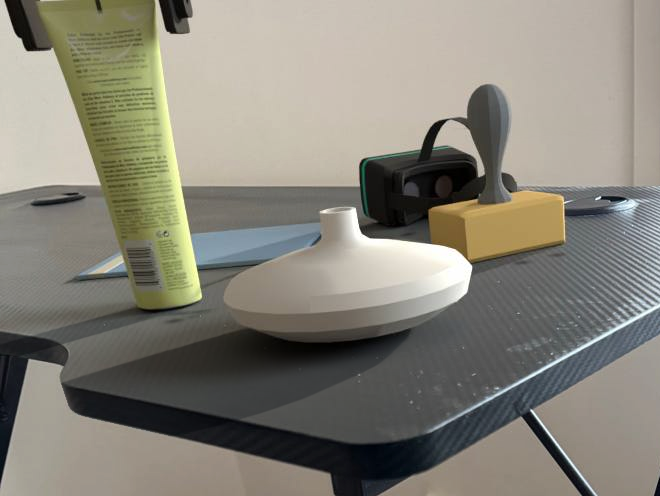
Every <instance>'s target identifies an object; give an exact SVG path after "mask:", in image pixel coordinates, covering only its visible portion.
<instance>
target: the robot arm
mask: <svg viewBox="0 0 660 496" xmlns="http://www.w3.org/2000/svg"><path fill="white" fill-rule="evenodd" d="M3 1H4V4H5V7H6V11H7V14H8V16H9V20H10V23H11V26H12V29H13V32H14V34H15V35H16V37H17V38H18V39H20V40H21V42H22V45H23V48H24V50H25V51H26V52H47V51H48V52H49V51H52V49H53V47H52V44H51V42H50V39H49V37H48V34H47V32H46V30H45V28H44V26H43V23H42V21H41V18H40V16H39V13H38V9H37V5H36V1H41V0H3ZM158 5H159V8H160V13H161V17H162V21H163V25H164V26H163V27H164V29H165V31H166V32H167V33H169V34H170V35H185V34H190V33H191V28H190V23H189V19H191V18H193V17H194V11H193V6H192V1H191V0H158Z"/></svg>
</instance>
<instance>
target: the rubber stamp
mask: <svg viewBox="0 0 660 496" xmlns="http://www.w3.org/2000/svg"><path fill="white" fill-rule="evenodd" d="M466 118H467V121H468V126H469V129H468V131H469V133H470V136H471V139H472V141H473V143H474V146H475V148H476V151H477V152H478V155H479V157H480V160H481V163H482V167H483V170H484V169H485V172H484V175H485V174H486V186H485V189H484V191H483V192H482V194H479V198H478V199H476V200H470V201H465V202H459V203H454V204H448V205H443V206H438V207H433V208H431V209H430V210H429V215H428V222H429V232H430V241H431V243H430V244H431V245H439V246H444V247H448V248H452V249H455V250H457V251H458V252H459V253H460V254H461V255H462V256H463V257H464V258H465V259H466V260H467V261H468V262H469V263H470V264H474V263H477V262H482V261H486V260H491V259H497V258H501V257H505V256H510V255H515V254H520V253H525V252H529V251H533V250H538V249H543V248H548V247H552V246H556V245H557V246H558V245H561V244H565V243H566V230H565V229H566V226H565V225H566V224H565V223H566V222H565V200H564V199H565V198H564V196H562V195H561V194H556V193H548V192H541V191H535V190H527V189H526V190H521V191H517V192H514V193H509V191H508V190H507V189H506V188H505V187H504V185H503V183H502V178H501V172H502V167H503V161H504V156H505V153H506V149H507V145H508V143H509V142H508V141H509V137H510V133H511V128H512V119H513V117H512V107H511V102H510V100H509V98H508V96H507V93H506V92H505V91H504V90H503V89H502V88H501V87H500V86H498V85H497V84H496V85H495V84H493V83H485V84H482V85H479V86H478V87H477V88H475V90H474V91H473V92H472V93H471V95H470V97H469V99H468V102H467V106H466Z"/></svg>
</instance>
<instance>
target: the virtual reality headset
mask: <svg viewBox="0 0 660 496" xmlns="http://www.w3.org/2000/svg"><path fill="white" fill-rule="evenodd" d="M448 121H454V122H457V123H459V124H461V125H463V126H465V128H466V129H467V130H469V126H468V121H467V117H462V116H456V117H449V118H444V119H439V120H437V121H435V122H434V123H432V125H431V126H430V127H429V129H428V130H427V132H426V134H425V136H424V139H423V142H422V144H421V147H420V149H413V150H408V151H407V150H406V151H402V152H395V153H388V154H382V155H376V156H368V157H364V158H362V159H361V160H360V162H359V164H358V176H359V177H358V180H359V190H360V191H359V192H360V200H361V206H362V212H363V214H364V216H366V218H369V219H370V220H374V221H377V222H379V223H381V224H384V225H386V226H388V227H390V226H394V225H396V224H399V223H401V224H402V225H403V226H405V225H406V226H407V225H410V224H412V223H413V222H415V221H418V220H419V219H421V218H423V217H425V216H426V217H427V216H429V210H430V209H431V208H433V207H438V206H443V205H448V204H454V203H459V202H465V201H470V200H476V199H478V198H479V197H480V195H481V194H482V192H483V191H484V189H485V186H486V174H485V169H484V168H483V172H484V174H483V175H480V176H479V169H478V161H477V159H476V157H475V156H473V155H472V154H469V153H467V152H465V151H462V150H460V149H459V148H455V147H453V146H452V145H448V144H447V145H439V146H435V144H436V143H435V142H436V140H437V137H438V134H439V133H440V132H441V129H442V128H443V126H444V125H445V124H446V123H447V122H448ZM501 178H502V183H503V185H504V187H505V188H506V189H507V190H508V191H509V193H514V192H518V183H517V181H516V179H515V178H514V176H512V174H510V173H507V172H503V171H501Z"/></svg>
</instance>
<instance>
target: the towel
mask: <svg viewBox="0 0 660 496" xmlns="http://www.w3.org/2000/svg"><path fill="white" fill-rule="evenodd" d="M320 236H322V229H321V222H319V221H318V222H317V221H316V222H307V223H298V224H296V223H295V224H285V225H276V226H275V225H274V226H265V227H264V226H263V227H254V228H252V227H251V228H242V229H231V230H221V231H210V232H197V233H190V237H191V242H192V247H193V252H194V257H195V263H196V268H197V271H198V270H207V269H208V270H210V269H219V268H221V269H222V268H231V267H242V266H252V265H253V266H254V265H255V266H256V265H260V264H262V263H265V262H268V261H270V260H273V259H275V258H278V257H280V256H283V255H286V254H288V253H291V252H294V251H297V250H300V249H303V248H307V247H310V246H313V244H314V243H315V242H316V241H317V240H318V239H319V238H320ZM119 277H128V273H127V270H126V267H125V263H124V260H123V256H122V253H121V250H120V251H118V252H116V253H115V254H113V255H112V256H111V255H110V256H109V257H107V258H106V259H104V260H102V261H100V262H98V263H97V264H95V265H93V266H91V267H89V268H87V269H86V270H84V271H83V272H81V273H79V274H76V279H77V281H83V280H95V279H105V278H108V279H109V278H119Z"/></svg>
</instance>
